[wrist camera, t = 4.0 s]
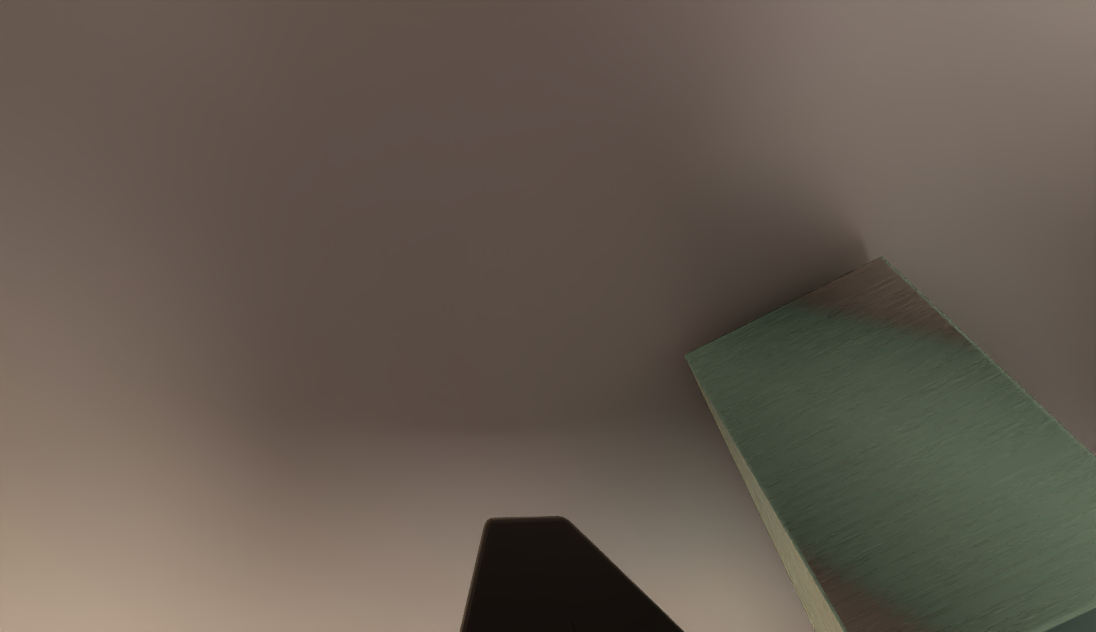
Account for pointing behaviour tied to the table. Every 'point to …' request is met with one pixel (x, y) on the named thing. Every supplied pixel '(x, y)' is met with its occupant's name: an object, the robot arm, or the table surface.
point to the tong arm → (903, 466)
